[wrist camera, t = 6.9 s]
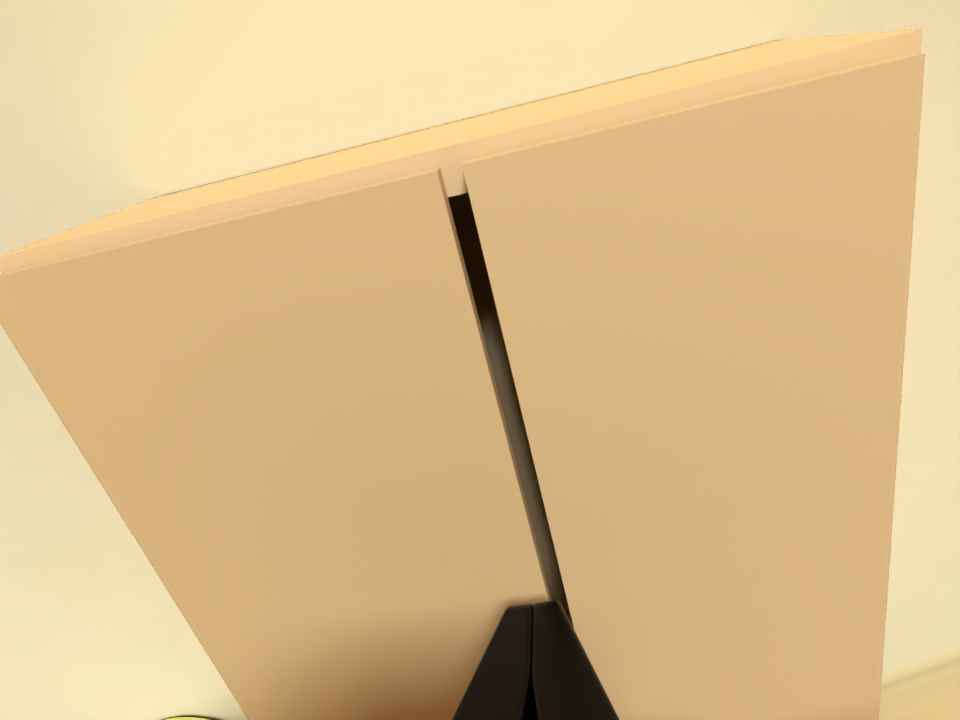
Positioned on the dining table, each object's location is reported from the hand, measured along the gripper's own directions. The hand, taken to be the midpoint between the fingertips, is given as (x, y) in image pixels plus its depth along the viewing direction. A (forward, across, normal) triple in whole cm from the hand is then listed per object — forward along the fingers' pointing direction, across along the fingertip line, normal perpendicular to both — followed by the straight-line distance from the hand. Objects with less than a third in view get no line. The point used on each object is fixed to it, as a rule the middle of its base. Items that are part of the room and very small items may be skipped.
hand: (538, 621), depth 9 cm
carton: (+5, 0, 0) cm, 5 cm away
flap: (+1, -3, 0) cm, 3 cm away
